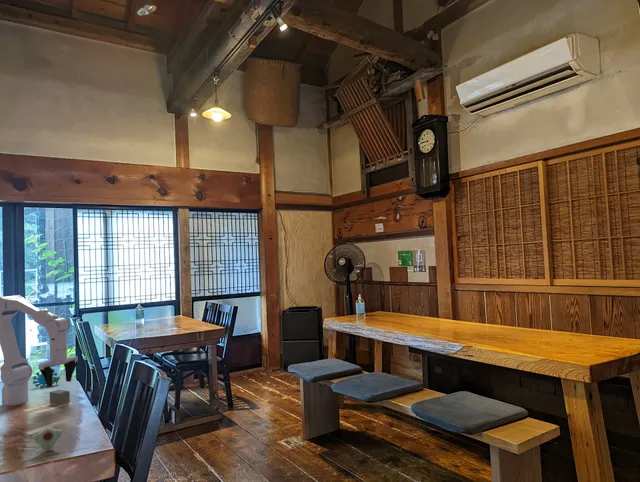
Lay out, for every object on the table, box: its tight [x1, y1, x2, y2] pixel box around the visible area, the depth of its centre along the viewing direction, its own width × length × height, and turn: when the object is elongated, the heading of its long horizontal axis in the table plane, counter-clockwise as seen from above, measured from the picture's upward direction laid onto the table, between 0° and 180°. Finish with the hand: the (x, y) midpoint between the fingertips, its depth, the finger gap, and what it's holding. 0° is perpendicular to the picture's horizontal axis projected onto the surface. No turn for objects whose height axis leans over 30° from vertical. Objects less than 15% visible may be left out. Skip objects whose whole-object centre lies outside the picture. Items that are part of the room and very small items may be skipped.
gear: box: [32, 369, 61, 389], centre depth 211 cm, size 11×6×10 cm
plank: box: [23, 402, 72, 415], centre depth 173 cm, size 10×13×1 cm
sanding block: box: [49, 389, 71, 405], centre depth 177 cm, size 7×4×4 cm, turn 62°
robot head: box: [31, 427, 64, 451], centre depth 133 cm, size 8×4×7 cm, turn 121°
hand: (59, 383), depth 177 cm, fingers open, 7 cm apart
